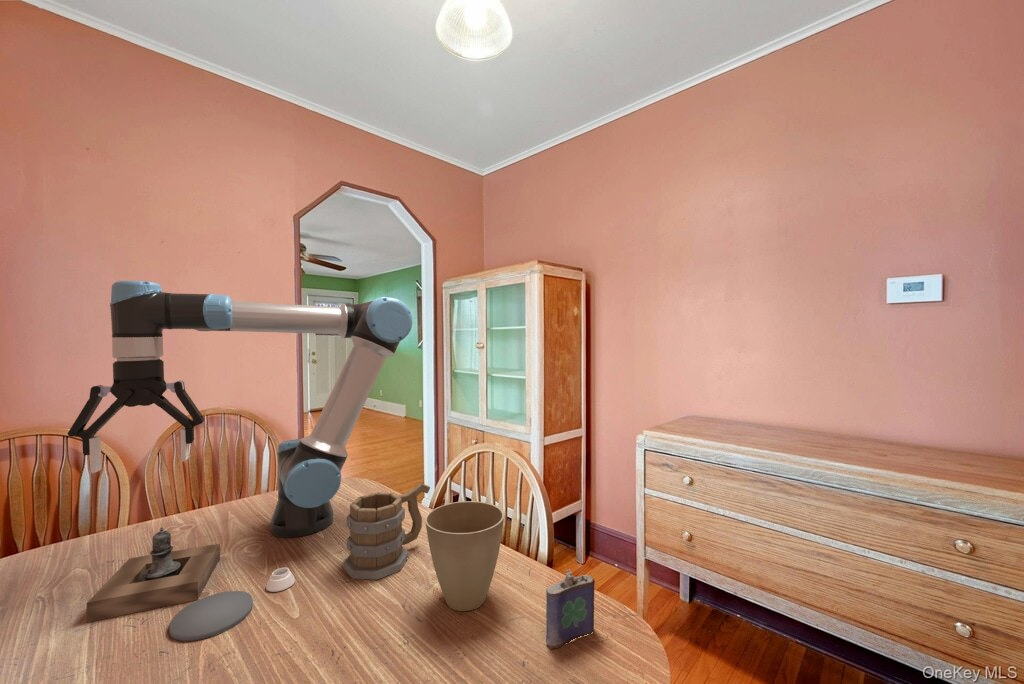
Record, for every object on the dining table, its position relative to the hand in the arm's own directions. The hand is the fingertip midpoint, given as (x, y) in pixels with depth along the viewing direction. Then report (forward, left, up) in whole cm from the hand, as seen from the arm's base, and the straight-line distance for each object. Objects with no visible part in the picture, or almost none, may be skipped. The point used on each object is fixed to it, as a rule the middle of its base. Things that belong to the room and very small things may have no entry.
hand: (142, 465), depth 82 cm
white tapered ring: (-25, +10, -25) cm, 37 cm away
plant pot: (-58, +29, -25) cm, 70 cm away
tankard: (-47, +8, -25) cm, 54 cm away
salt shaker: (-3, +1, -25) cm, 25 cm away
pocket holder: (-3, +1, -25) cm, 25 cm away
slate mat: (-15, +16, -25) cm, 33 cm away
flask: (-72, +46, -25) cm, 88 cm away
